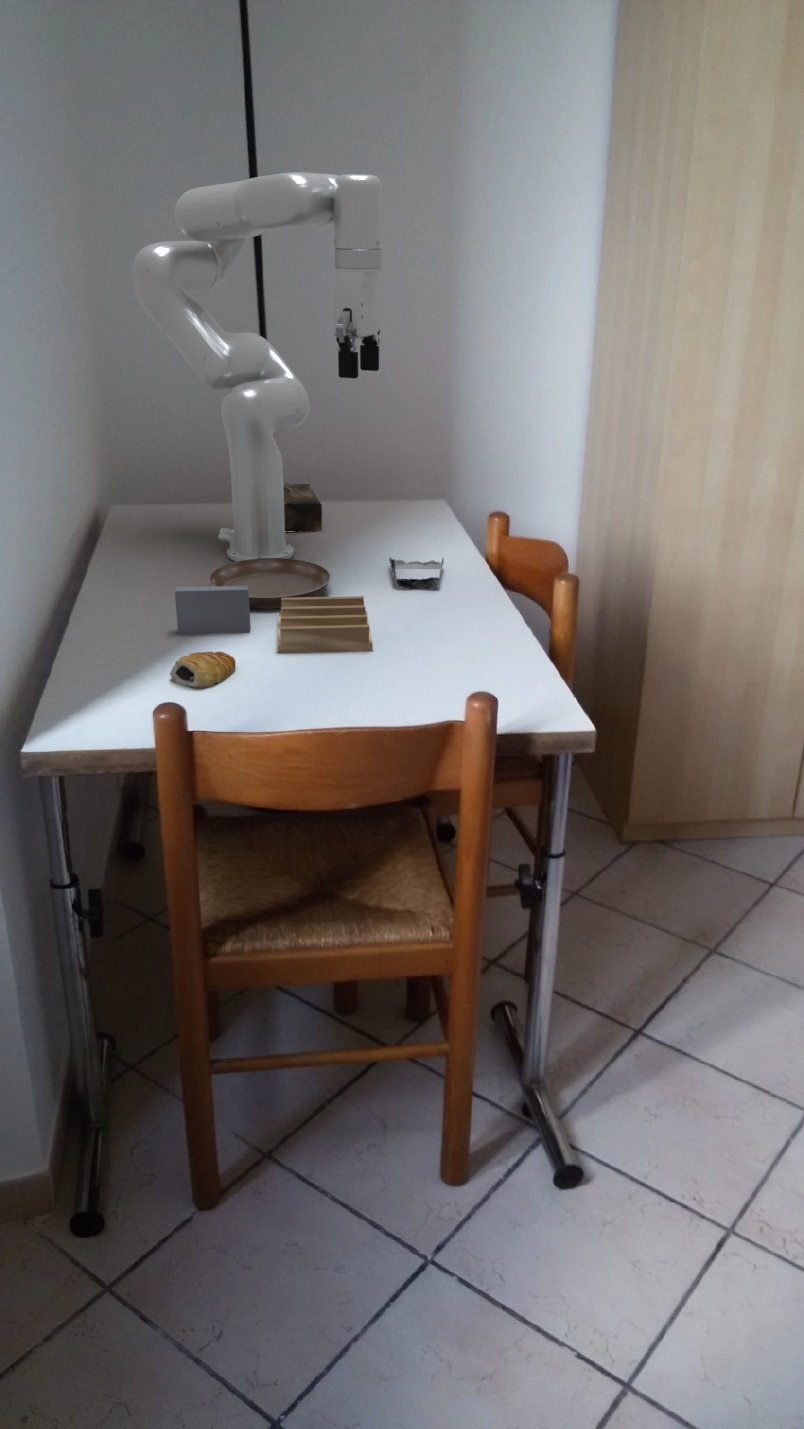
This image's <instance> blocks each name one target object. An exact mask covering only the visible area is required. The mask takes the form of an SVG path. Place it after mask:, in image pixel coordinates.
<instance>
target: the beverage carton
mask: <svg viewBox="0 0 804 1429" xmlns="http://www.w3.org/2000/svg"><path fill="white" fill-rule="evenodd" d="M283 489H284V516H285V531H321V532H322V527H323V506H322V503H321V501H320V500H319V498H318V497H317V495H316V493H315V492H314V490H313V489H312V487H311V486H310V484H309V483H295V484H294V483H293V484H291V483H289V482H283Z"/></svg>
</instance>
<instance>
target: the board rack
mask: <svg viewBox="0 0 804 1429" xmlns="http://www.w3.org/2000/svg"><path fill="white" fill-rule="evenodd" d="M364 601H365V599H364V596H363V595H362V596H361V595H360V596H357V595H356V596H355V595H354V596H317V597H299V598H281V608H280V612H278V624H277V625H278V626H277V653H278V654H286V653H287V654H289V653H290V654H292V653H294V654H295V653H296V654H298V653H330V652H331V653H332V652H371V651H373V644H374V642H373V640H372V639H373V637H372V634H371V633H372V632H371V629H370V628H371V627H370V622H369V616H368V611H367V610H366V605H365V602H364Z"/></svg>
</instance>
